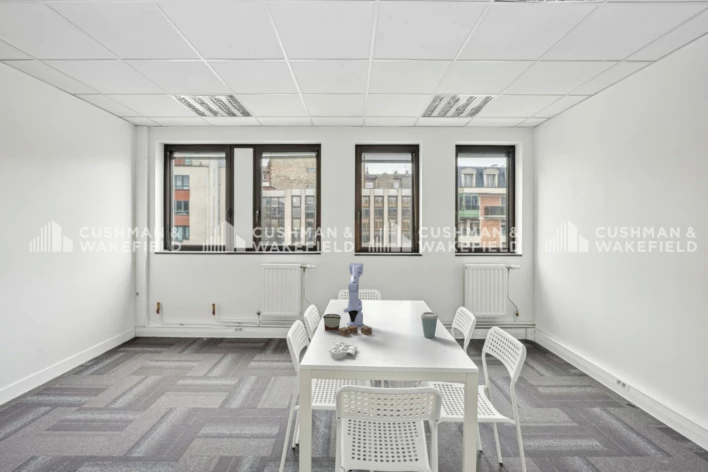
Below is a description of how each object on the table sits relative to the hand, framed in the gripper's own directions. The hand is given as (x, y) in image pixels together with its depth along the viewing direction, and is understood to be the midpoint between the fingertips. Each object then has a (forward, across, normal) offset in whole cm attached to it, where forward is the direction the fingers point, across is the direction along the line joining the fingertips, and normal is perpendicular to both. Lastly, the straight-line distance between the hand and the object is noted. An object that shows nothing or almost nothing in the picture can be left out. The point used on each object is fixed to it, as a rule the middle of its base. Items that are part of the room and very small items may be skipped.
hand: (352, 321), depth 223 cm
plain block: (+7, 0, 0) cm, 7 cm away
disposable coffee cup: (+7, +34, -36) cm, 50 cm away
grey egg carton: (+8, -28, -24) cm, 38 cm away
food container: (+7, -7, +13) cm, 16 cm away
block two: (+7, -7, 0) cm, 10 cm away
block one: (+7, +6, -7) cm, 12 cm away
